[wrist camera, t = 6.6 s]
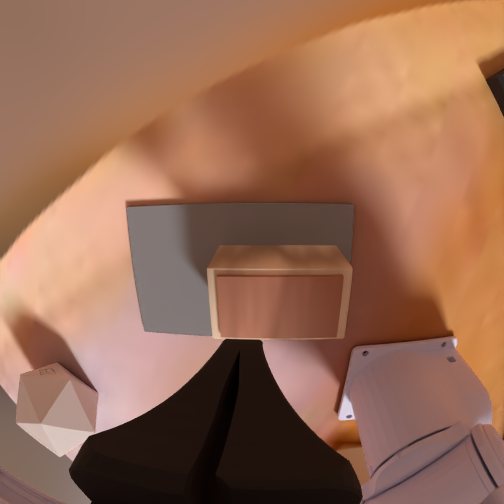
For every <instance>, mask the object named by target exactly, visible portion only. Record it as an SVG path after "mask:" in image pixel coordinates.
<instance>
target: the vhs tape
mask: <svg viewBox="0 0 504 504" xmlns="http://www.w3.org/2000/svg"><path fill="white" fill-rule="evenodd" d="M486 82H487V84H488V85H489V87H490V89H491V91H492V93H493V95H494V97H495V99H496V101H497V103H498V105H499V108H500V110H501V112H502V114H503V116H504V69H503V70H501V71H499V72H498V73H497V74H495V75H493V76H491V77H490V78H488V79H486Z"/></svg>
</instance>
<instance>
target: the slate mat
mask: <svg viewBox="0 0 504 504" xmlns="http://www.w3.org/2000/svg"><path fill="white" fill-rule="evenodd" d="M126 208H127V219H128V229H129V238H130V246H131V254H132V262H133V269H134V275H135V282H136V288H137V294H138V300H139V305H140V311H141V316H142V321H143V326H144V331H146V332H157V333H169V334H183V335H199V336H212V326H211V314H210V303H209V290H208V277H207V267H208V265H209V264H210V262H211V260H212V258H213V257H214V255H215V253H216V251H217V249H218V248H219V246H220V245H336V246H337V247H338V249H339V250H340V251H341V253H342V254H343V255H344V257H345V258H346V260H347V261H348V262H349V264H351V253H352V240H353V226H354V208H355V205H354V204H336V203H196V204H167V205H144V206H129V207H126Z"/></svg>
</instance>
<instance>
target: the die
mask: <svg viewBox="0 0 504 504" xmlns="http://www.w3.org/2000/svg"><path fill="white" fill-rule="evenodd" d="M98 394H99V393H97V392H96V391H95V390H93V389H92V388H90V387H89V386H88V385H86V384H85V383H84V382H82V381H81V380H80V379H78V378H77V377H76V376H74V375H73V374H72V373H71V372H69V371H68V370H67V369H66V368H64V367H63V366H62V365H61V364H59V363H58V362H56V363H53V364H50V365H47V366H44V367H41V368H38V369H35V370H32V371H29V372H26V373H23V374H21V375H20V382H19V390H18V400H17V412H16V423H17V424H18V425H19V426H20V427H21V428H22V429H24V430H25V431H26V432H27V433H29V434H30V435H31V436H32V437H34V438H35V439H36V440H37V441H39V442H40V443H41V444H42V445H44V446H45V447H46V448H48V449H49V450H51V451H52V452H53V453H55V454H56V455H58V456H59V457H61V456H63V455H64V454H66V453H67V452H69V451H70V450H72V449H73V448H75V447H76V446H78V445H79V444H81V443H82V442H84V441H85V440H86V439H87V438H88V437H89V436H90V435H93V434H94V433H95V426H96V414H97V403H98Z"/></svg>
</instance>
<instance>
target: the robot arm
mask: <svg viewBox="0 0 504 504" xmlns="http://www.w3.org/2000/svg"><path fill="white" fill-rule="evenodd" d="M457 341H458V340H457V338H456V337H455V336H450V337H443V338H436V339H428V340H420V341H411V342H401V343H390V344H379V345H365V346H356V347H355V348H354V349H353V350H352V352H351V357H350V362H349V367H348V372H347V376H346V381H345V385H344V390H343V394H342V398H341V402H340V407H339V411H338V414H337V416H338V419H339V420H352V419H355V420H356V424H357V428H358V432H359V436H360V440H361V444H362V448H363V452H364V456H365V459H366V464H367V468H368V472H369V477H370V480H369V481H368V482H367V483H365V484H363V485H362V486H360V483H359V480H358V478H357V475H356V473H355V471H354V469H353V467H352V465H351V463H350V461H349V460H347V459H346V458H344V457H343V456H341V455H340V454H339V453H337V452H336V451H335V450H334V449H332V448H331V447H330V446H329V445H327V444H326V443H325V442H324V441H323V440H322V439H321V438H319V437H318V436H317V435H316V434H315V433H314V432H313V431H312V430H311V429H310V427H309V426H308V425H307V424H306V423H305V422H304V421H303V420H302V419H301V418H300V417H299V415H298V414H297V413H296V412H295V410H294V409H293V408H292V406H291V405H290V404H289V402H288V401H287V399H286V398H285V396H284V395H283V393H282V392H281V390H280V388H279V386H278V385H277V383H276V381H275V379H274V377H273V375H272V373H271V370H270V368H269V366H268V363H267V361H266V358H265V355H264V351H263V342H262V341H261V340H260V339H225V340H224V341H223V342H222V344H221V345H220V346H219V348H218V349H217V350H216V352H215V353H214V354H213V355H212V357H211V358H210V359H209V360H208V361H207V362H206V364H205V365H204V366H203V367H202V368H201V369H200V370H199V371H198V372H197V373H196V374H195V375H194V376H193V377H192V378H191V379H190V380H189V381H188V382H187V383H186V384H185V385H184V386H183V387H182V388H181V389H179V390H178V391H177V392H176V393H174V394H173V395H172V396H171V397H169V398H168V399H167V400H165V401H164V402H162V403H161V404H159V405H158V406H156V407H155V408H153V409H151V410H150V411H148V412H146V413H145V414H143V415H141V416H139V417H137V418H135V419H133V420H131V421H129V422H127V423H124V424H122V425H120V426H117V427H115V428H112V429H109V430H106V431H103V432H100V433H97V434H94V435H90V436H89V437H88V438H87V439H86V441H85V442H84V444H83V445H82V447H81V449H80V450H79V452H78V454H77V456H76V458H75V459H74V461H73V463H72V465H71V467H70V469H69V473H70V476H71V478H72V479H73V481H74V482H75V484H77V486H78V487H79V488H80V489H81V490H82V491H83V492H84V494H85V495H86V496H87V497H88V498H89V499H90V500H91V501H92V502H91V504H504V441H503V439H502V438H501V436H500V435H499V434H498V432H497V431H496V430H495V428H494V427H493V426H492V425H491V422H492V405H491V400H490V397H489V394H488V392H487V390H486V388H485V387H484V385H483V384H482V383H481V381H480V380H479V379H478V377H477V376H476V375H475V373H474V372H473V371H472V369H471V368H470V367H469V366H468V364H467V363H466V362H465V360H464V359H463V358H462V357H461V355H460V354H459V353H458V352H457V350H456V349H455V348H456V345H457ZM442 343H443V344H442ZM364 351H367V352H366V353H363V352H364ZM361 488H362V489H361ZM362 493H363V495H362ZM362 497H363V498H364V499H362ZM0 504H65V503H63V502H61V501H59V500H57V499H55V498H53V497H51V496H49V495H47V494H45V493H43V492H41V491H40V490H37V489H36V488H34V487H32V486H30V485H29V484H27V483H25V482H24V481H22V480H20V479H19V478H17V477H16V476H14V475H12V474H11V473H9V472H8V471H6V470H5V469H3V468H1V467H0Z"/></svg>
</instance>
